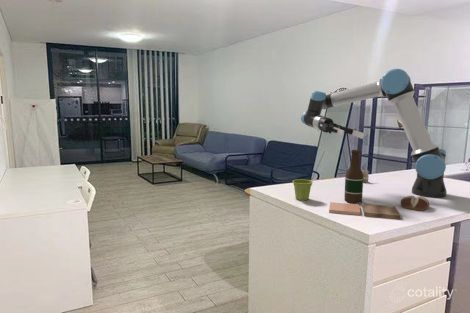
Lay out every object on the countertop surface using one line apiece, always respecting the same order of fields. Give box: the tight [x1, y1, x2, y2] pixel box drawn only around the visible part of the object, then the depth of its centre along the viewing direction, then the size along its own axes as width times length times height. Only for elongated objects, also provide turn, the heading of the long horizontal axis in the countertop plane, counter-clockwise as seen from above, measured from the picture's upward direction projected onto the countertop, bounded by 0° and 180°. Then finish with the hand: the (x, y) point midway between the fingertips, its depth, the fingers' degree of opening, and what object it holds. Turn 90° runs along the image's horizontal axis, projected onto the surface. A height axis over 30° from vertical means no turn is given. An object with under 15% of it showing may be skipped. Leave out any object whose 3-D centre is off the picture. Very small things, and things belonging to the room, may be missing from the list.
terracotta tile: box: [328, 201, 361, 216], centre depth 138 cm, size 12×12×1 cm
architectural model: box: [361, 169, 369, 184], centre depth 193 cm, size 3×7×7 cm, turn 51°
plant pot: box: [292, 178, 314, 202], centre depth 155 cm, size 9×9×9 cm
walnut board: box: [361, 203, 401, 220], centre depth 134 cm, size 13×13×2 cm
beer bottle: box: [343, 149, 364, 204], centre depth 150 cm, size 8×8×24 cm
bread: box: [400, 195, 430, 212], centre depth 143 cm, size 11×11×5 cm
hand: (353, 134), depth 154 cm, fingers open, 13 cm apart
